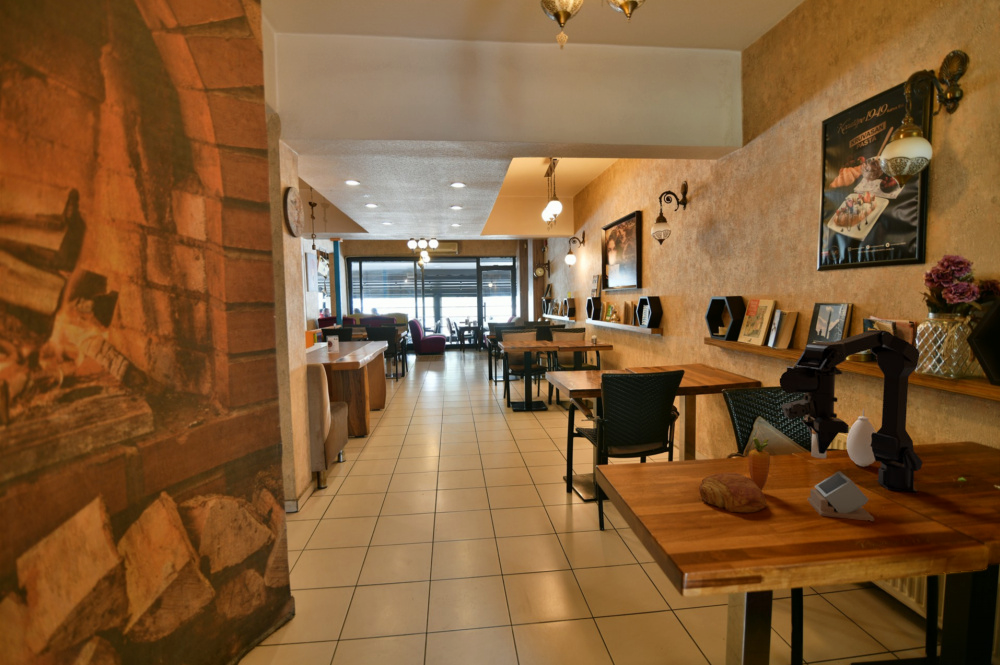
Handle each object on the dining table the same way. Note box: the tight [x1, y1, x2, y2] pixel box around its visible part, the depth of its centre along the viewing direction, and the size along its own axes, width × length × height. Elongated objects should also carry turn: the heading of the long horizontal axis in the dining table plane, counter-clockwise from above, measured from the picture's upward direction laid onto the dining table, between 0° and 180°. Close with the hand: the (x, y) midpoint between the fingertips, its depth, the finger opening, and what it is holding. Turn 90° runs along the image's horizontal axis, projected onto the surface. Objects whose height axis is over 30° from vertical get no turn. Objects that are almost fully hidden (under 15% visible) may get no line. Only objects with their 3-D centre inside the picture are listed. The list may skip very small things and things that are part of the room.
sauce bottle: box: [846, 408, 877, 468], centre depth 143 cm, size 8×8×18 cm
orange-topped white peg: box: [810, 430, 827, 459], centre depth 119 cm, size 3×3×7 cm
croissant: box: [698, 472, 767, 514], centre depth 117 cm, size 14×16×8 cm
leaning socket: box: [807, 470, 875, 522], centre depth 111 cm, size 11×9×9 cm
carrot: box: [748, 436, 771, 491], centre depth 123 cm, size 5×5×15 cm
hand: (818, 451), depth 119 cm, fingers closed on orange-topped white peg, 3 cm apart
